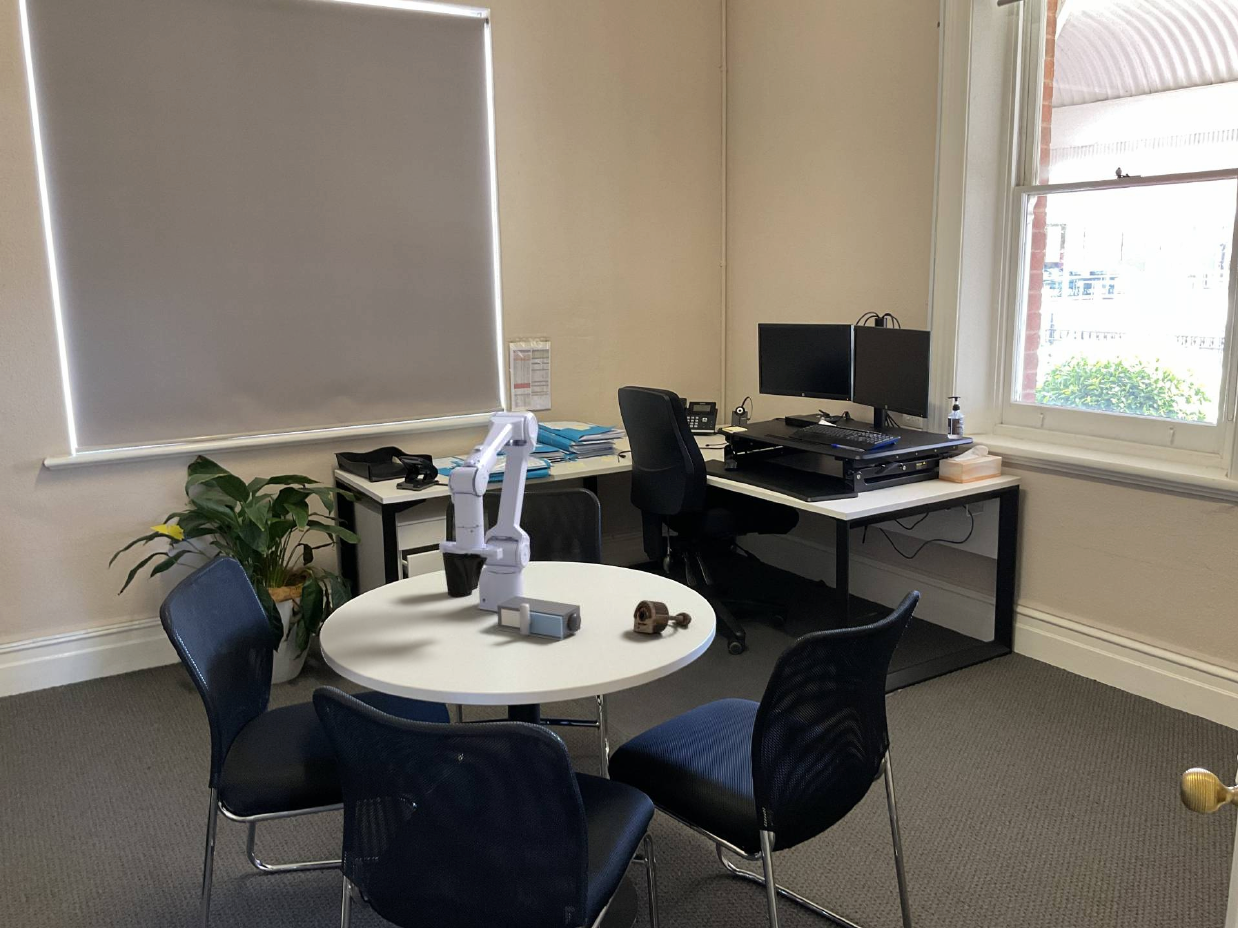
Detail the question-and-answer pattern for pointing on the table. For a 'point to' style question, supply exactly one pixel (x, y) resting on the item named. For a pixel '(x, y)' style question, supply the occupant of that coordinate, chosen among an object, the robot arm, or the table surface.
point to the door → (539, 623)
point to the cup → (454, 576)
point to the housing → (568, 612)
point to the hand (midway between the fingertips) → (472, 588)
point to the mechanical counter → (656, 617)
